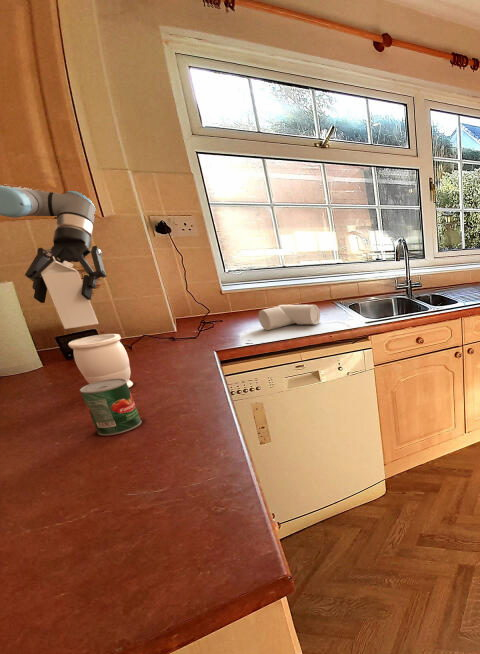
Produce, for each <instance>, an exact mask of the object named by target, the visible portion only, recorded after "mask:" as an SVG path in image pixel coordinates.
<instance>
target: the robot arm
mask: <svg viewBox="0 0 480 654" xmlns="http://www.w3.org/2000/svg"><path fill="white" fill-rule="evenodd" d="M21 187H22V186H19V187H10V186H3V185H1V184H0V216H2V217H6V218H16V219H17V218H22V217H39V216H57V217H55V218H52V219H54V220H56V223H55V228H54V234H53V239H52V241H53V245H52V246H51V248H48V249H46V248H45V249H44V248H43V247H38V248H37V250H36V255H35V257H34V259H33V260H32V261H31V264H30V265H29V266H28V269H27V270H26V272H25V274H24V276H25V277H26V278H27V279H29V280H30V281H31V282H32V285H31V286H32V287H31V288H32V289H33V290H34V294H33V299H35V300H36V301H37V302H39V303H40V304H45V303H46V298H47V292H48V289H47V287H46V284H45V282H44V280H43V277H42V275H41V272H42V271H43V270H45V269H46V268H47V267H48V266H49V265H50V264H51V263H52V262H53V261H54V259H53V256H54V258H55V260H56V261H58V262H60V263H63V262H64V261H67V262H69V263H79V264H80V265H81V267H82V268H83V269H84V271H85V273H86V274H83V279H82V282H83V285H82V292H81V295H82V296H84V297H85V298H86V299H87V300H90V301H91V300H92V297H93V296H92V294H93V290H94V289H96V288H97V283H98V280H99V278H103V279H105V278H106V277H107V273H106V269H105V266H104V262H103V258H102V256H103V253H104V252H103V250H101V248H99V246H97V245H93V246H92V237H93V232H94V231H93V230H94V223H95V217H96V213H95V211H96V212H97V207H96V208H95V206H94V204H93V203H92V201H91V200H90V199H89V198H87V197H86V196H85V195H82V193H79V192H77V191H67V192H66V193H65V194H60V193H61V192H55V193H53V191H47V192H45V191H46V190H41V191H38V190H39V189H36V190H32V189H33V188H30V187H24V188H21ZM29 188H30V189H29ZM94 214H95V216H94ZM91 246H92V247H91ZM89 254H90V255H91V258H92V262H93V266H94V269H93V267H92V266H91V265H90V263H89V261H88V260H87V259H86V257H87V256H88V255H89Z"/></svg>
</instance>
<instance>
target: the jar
mask: <svg viewBox="0 0 480 654" xmlns="http://www.w3.org/2000/svg"><path fill="white" fill-rule="evenodd" d="M121 340H122V337H121V334H119V333H105V334H95V335H90V336H86V337H81V338H76V339H73V340H71V341H69V342H68V347H69V349H71V350H72V351H73V359H74V362H75V364H76V367H77V368H78V369H77V370H79V372H80V373H81V375H82V376H83V377H84V379H85V381H86V382H87V383H88V384H91V383H94V382H98V381H102V380H108V379H116V378H120V379H125V380H126V383H127V385H128V387H129V389H130V388H131V387H132V386H133V385H134V382H133V381H131V380H130V378H131V366H130V359H129V356H128V352H127V351H126V349H125V347H124V345H123V344H122V342H121Z"/></svg>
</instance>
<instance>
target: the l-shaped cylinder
mask: <svg viewBox="0 0 480 654" xmlns="http://www.w3.org/2000/svg"><path fill="white" fill-rule="evenodd" d="M257 317H258V322H259V323H260V325H261V327H262V328H263V329H264V330H265V331H270V330H274V329H279V328H283V327H286V326H291V325H294V324H296V325H318V324H319V323H320V321H321V320H320V319H321V312H320V307H318V306H317V305H316V304H278V306H273V307H270V308H265V309H264V308H263V309H260V310H259V311H258V314H257Z"/></svg>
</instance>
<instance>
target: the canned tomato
mask: <svg viewBox="0 0 480 654" xmlns="http://www.w3.org/2000/svg"><path fill="white" fill-rule="evenodd" d="M79 392H80V393H81V397H82V399H83V401H84V403H85V406H86V409H87V410H88V413H89V414H90V417H91V420H92V422H93V424H94V427H95V429H96V431H97V434H98V435H99V436H108V437H109V436H115V435H119V434H123V433H126V432H129V431H131V430H134V429H136V428H137V427H139V426H141V424H142V419H141V417H140V414H139V411H138V409H137V407H136V404H135V401H134V399H133V395H132V393H131V390H130V388H129V387H128V385H127V383H126V380H125V379H120V378H116V379H108V380H102V381H98V382H94V383H91V384H89V383H88V384H86V385H84V386H82V387H81V388H80V389H79Z"/></svg>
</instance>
